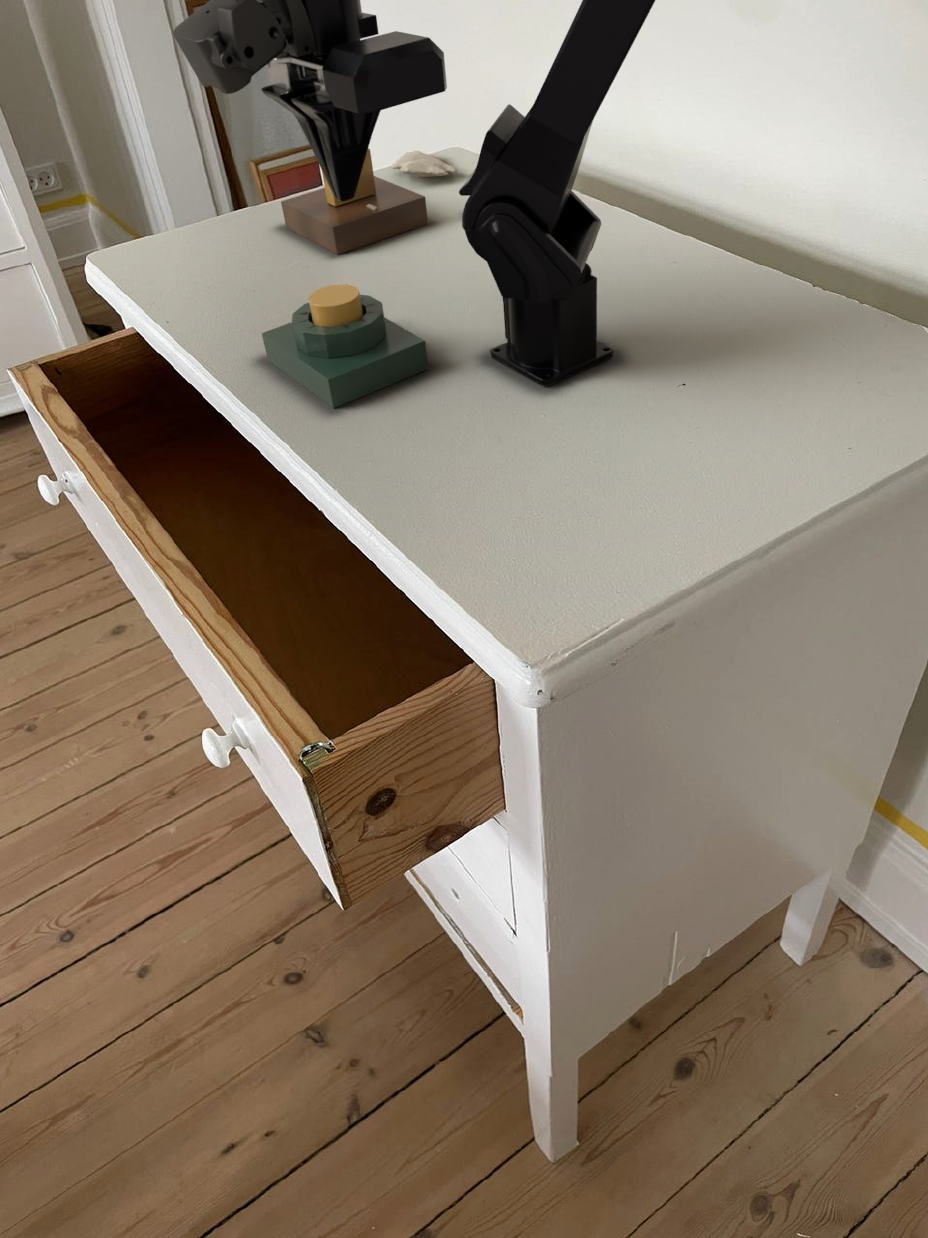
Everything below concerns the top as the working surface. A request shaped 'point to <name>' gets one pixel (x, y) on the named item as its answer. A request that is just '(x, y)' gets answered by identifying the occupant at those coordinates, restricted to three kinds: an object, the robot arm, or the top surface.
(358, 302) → the release button
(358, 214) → the lock plate
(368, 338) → the box
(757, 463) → the top surface
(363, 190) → the red-tipped wooden block
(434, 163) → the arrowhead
